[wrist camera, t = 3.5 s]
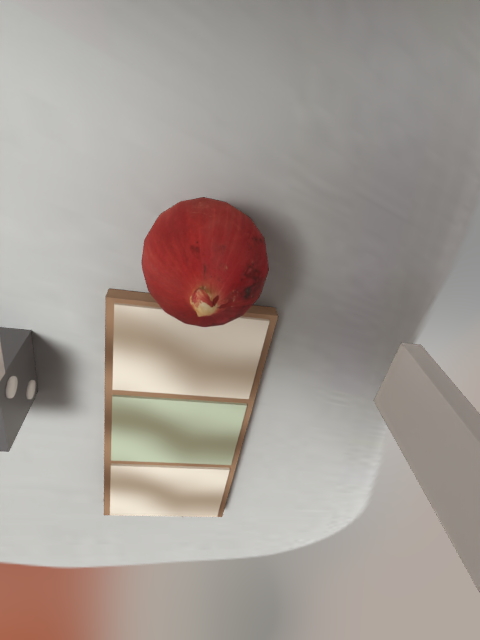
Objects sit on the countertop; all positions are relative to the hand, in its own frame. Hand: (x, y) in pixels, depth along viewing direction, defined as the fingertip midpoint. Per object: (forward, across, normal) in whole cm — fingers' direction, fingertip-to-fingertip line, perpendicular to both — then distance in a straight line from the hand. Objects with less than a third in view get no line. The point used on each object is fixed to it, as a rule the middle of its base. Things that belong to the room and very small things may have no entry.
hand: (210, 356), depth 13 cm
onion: (+10, 0, 0) cm, 11 cm away
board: (+10, 0, -14) cm, 18 cm away
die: (+10, -12, -10) cm, 19 cm away
